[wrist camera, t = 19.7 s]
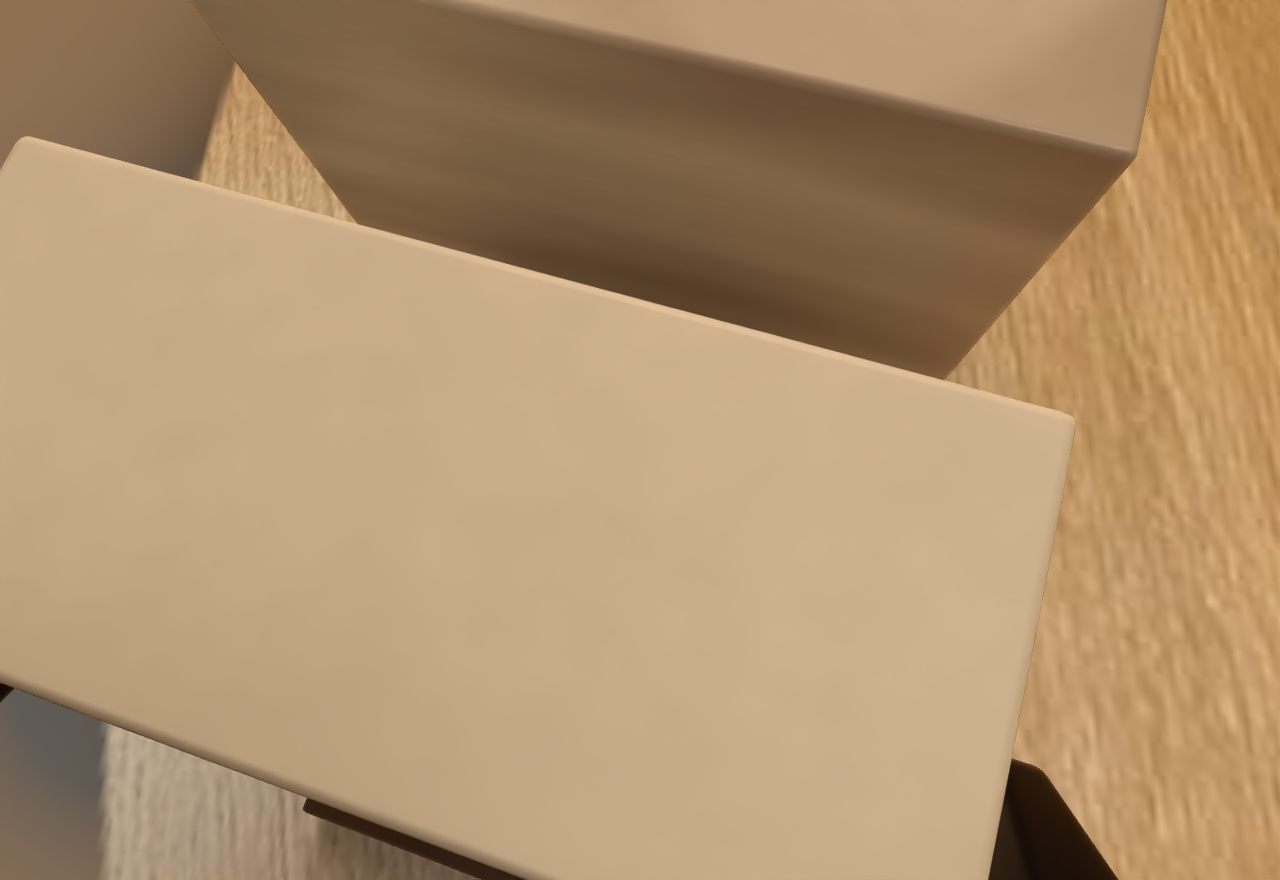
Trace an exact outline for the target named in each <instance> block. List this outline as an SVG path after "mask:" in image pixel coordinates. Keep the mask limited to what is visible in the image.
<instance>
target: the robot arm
mask: <svg viewBox="0 0 1280 880" xmlns="http://www.w3.org/2000/svg"><path fill="white" fill-rule="evenodd" d="M14 689H15V688H13V687H10V686H8V685H5V684H2V683H0V702H2V701H3V699H5V697H6V696H8V694H10V693H11V692H12V691H13V690H14ZM988 880H1118V878H1117V877H1116V875H1115V874H1114V873H1113V871H1112V870H1111V868H1110V867H1109V865H1108V864H1107V862H1106V861H1105V860H1104V858H1103V857H1102V855H1101V854H1100V852H1099V851H1098V849H1097V848H1096V847H1095V845H1094V844H1093V842H1092V841H1091V839H1090V838H1089V836H1088V835H1087V833H1086V832H1085V831H1084V829H1083V828H1082V826H1081V825H1080V823H1079V822H1078V820H1077V819H1076V818H1075V816H1074V815H1073V813H1072V812H1071V810H1070V809H1069V807H1068V806H1067V805H1066V803H1065V802H1064V800H1063V799H1062V797H1061V796H1060V794H1059V793H1058V791H1057V790H1056V789H1055V787H1054V786H1053V784H1052V783H1051V781H1050V780H1049V778H1048V777H1047V776H1046V775H1045V773H1044V772H1043V771H1042V770H1040V769H1039V768H1037V767H1036V766H1033V765H1030V764H1027V763H1024V762H1021V761H1018V760H1015V759H1011V764H1010V770H1009V775H1008V780H1007V785H1006V790H1005V795H1004V800H1003V806H1002V811H1001V816H1000V821H999V826H998V831H997V836H996V842H995V847H994V852H993V857H992V862H991V867H990V873H989V878H988Z"/></svg>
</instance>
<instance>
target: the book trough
mask: <svg viewBox="0 0 1280 880" xmlns="http://www.w3.org/2000/svg"><path fill="white" fill-rule="evenodd" d="M190 1H191V2H192V4H193V5H194V6H195V8H196V9H197V10H198V12H199V13H200V14H201V16H202V17H203V18H204V20H205V21H206V22H207V24H208V25H209V26H210V28H211V29H212V30H213V32H214V33H215V34H216V36H217V37H218V38H219V40H220V41H221V42H222V43H223V45H224V46H225V48H226V49H227V50H228V52H229V53H230V54H231V56H232V57H233V58H234V60H235V61H236V62H237V64H238V65H239V66H240V68H241V69H242V70H243V72H244V73H245V74H246V76H247V77H248V78H249V80H250V81H251V82H252V84H253V85H254V86H255V88H256V89H257V90H258V92H259V93H260V94H261V96H262V97H263V98H264V100H265V101H266V103H267V104H268V105H269V107H270V108H271V109H272V111H273V112H274V113H275V115H276V116H277V117H278V119H279V120H280V121H281V123H282V124H283V125H284V127H285V128H286V129H287V131H288V132H289V133H290V135H291V136H292V137H293V139H294V140H295V141H296V143H297V144H298V145H299V147H300V148H301V149H302V151H303V152H304V153H305V155H306V156H307V157H308V159H309V160H310V161H311V163H312V164H313V165H314V167H315V168H316V169H317V171H318V172H319V173H320V175H321V176H322V177H323V179H324V180H325V181H326V183H327V184H328V185H329V187H330V188H331V189H332V191H333V192H334V193H335V195H336V196H337V197H338V199H339V200H340V201H341V203H342V204H343V205H344V207H345V208H346V209H347V211H348V212H349V213H350V215H351V216H352V217H353V219H354V220H355V221H356V223H357V224H359V225H363V226H367V227H371V228H374V229H378V230H382V231H386V232H389V233H393V234H397V235H401V236H404V237H408V238H412V239H416V240H419V241H423V242H427V243H431V244H434V245H438V246H442V247H446V248H449V249H453V250H457V251H461V252H464V253H468V254H472V255H476V256H479V257H483V258H487V259H491V260H494V261H498V262H502V263H506V264H509V265H513V266H517V267H521V268H524V269H528V270H532V271H536V272H539V273H543V274H547V275H551V276H554V277H558V278H562V279H566V280H569V281H573V282H577V283H581V284H584V285H588V286H592V287H596V288H599V289H603V290H607V291H611V292H614V293H618V294H622V295H626V296H629V297H633V298H637V299H641V300H644V301H648V302H652V303H656V304H659V305H663V306H667V307H671V308H674V309H678V310H682V311H686V312H689V313H693V314H697V315H701V316H704V317H708V318H712V319H716V320H719V321H723V322H727V323H731V324H734V325H738V326H742V327H746V328H749V329H753V330H757V331H761V332H764V333H768V334H772V335H776V336H779V337H783V338H787V339H790V340H794V341H798V342H802V343H805V344H809V345H813V346H817V347H820V348H824V349H828V350H832V351H835V352H839V353H843V354H847V355H850V356H854V357H858V358H862V359H865V360H869V361H873V362H877V363H880V364H884V365H888V366H892V367H895V368H899V369H903V370H907V371H910V372H914V373H918V374H922V375H925V376H929V377H933V378H937V379H940V380H945V379H946V377H947V376H948V375H949V374H950V373H951V372H952V370H953V369H954V368H955V367H956V366H957V365H958V364H959V362H960V361H961V360H962V359H963V358H964V357H965V355H966V354H967V353H968V352H969V351H970V350H971V348H972V347H973V346H974V345H975V344H976V343H977V341H978V340H979V339H980V338H981V337H982V336H983V334H984V333H985V332H986V331H987V330H988V329H989V328H990V326H991V325H992V324H993V323H994V322H995V321H996V319H997V318H998V317H999V316H1000V315H1001V314H1002V312H1003V311H1004V310H1005V309H1006V308H1007V307H1008V305H1009V304H1010V303H1011V302H1012V301H1013V300H1014V298H1015V297H1016V296H1017V295H1018V294H1019V293H1020V292H1021V290H1022V289H1023V288H1024V287H1025V286H1026V285H1027V283H1028V282H1029V281H1030V280H1031V279H1032V278H1033V276H1034V275H1035V274H1036V273H1037V272H1038V271H1039V269H1040V268H1041V267H1042V266H1043V265H1044V264H1045V262H1046V261H1047V260H1048V259H1049V258H1050V257H1051V255H1052V254H1053V253H1054V252H1055V251H1056V250H1057V249H1058V247H1059V246H1060V245H1061V244H1062V243H1063V242H1064V240H1065V239H1066V238H1067V237H1068V236H1069V235H1070V233H1071V232H1072V231H1073V230H1074V229H1075V228H1076V226H1077V225H1078V224H1079V223H1080V222H1081V221H1082V219H1083V218H1084V217H1085V216H1086V215H1087V214H1088V213H1089V211H1090V210H1091V209H1092V208H1093V207H1094V206H1095V204H1096V203H1097V202H1098V201H1099V200H1100V199H1101V197H1102V196H1103V195H1104V194H1105V193H1106V192H1107V190H1108V189H1109V188H1110V187H1111V186H1112V185H1113V183H1114V182H1115V181H1116V180H1117V179H1118V178H1119V177H1120V175H1121V174H1122V173H1123V172H1124V171H1125V170H1126V168H1127V167H1128V166H1129V165H1130V164H1131V163H1132V161H1133V160H1134V159H1135V158H1136V156H1137V152H1138V147H1139V142H1140V136H1141V131H1142V126H1143V121H1144V116H1145V111H1146V106H1147V100H1148V95H1149V90H1150V85H1151V80H1152V75H1153V70H1154V64H1155V59H1156V54H1157V49H1158V44H1159V39H1160V34H1161V29H1162V23H1163V18H1164V13H1165V8H1166V3H1167V0H190ZM303 810H304V811H305V812H306V813H308V814H311V815H314V816H316V817H319V818H321V819H324V820H327V821H329V822H332V823H335V824H337V825H340V826H342V827H345V828H348V829H350V830H353V831H356V832H358V833H361V834H363V835H366V836H369V837H371V838H374V839H377V840H379V841H382V842H384V843H387V844H390V845H392V846H395V847H398V848H400V849H403V850H405V851H408V852H411V853H413V854H416V855H419V856H421V857H424V858H426V859H429V860H432V861H434V862H437V863H440V864H442V865H445V866H447V867H450V868H453V869H455V870H458V871H461V872H463V873H466V874H468V875H471V876H474V877H476V878H479V879H482V880H525V879H523V878H520V877H517V876H515V875H512V874H509V873H507V872H504V871H501V870H499V869H496V868H493V867H491V866H488V865H485V864H483V863H480V862H477V861H475V860H472V859H469V858H467V857H464V856H461V855H459V854H456V853H453V852H451V851H448V850H445V849H443V848H440V847H437V846H435V845H432V844H429V843H427V842H424V841H421V840H419V839H416V838H413V837H411V836H408V835H405V834H403V833H400V832H397V831H395V830H392V829H389V828H387V827H384V826H381V825H379V824H376V823H373V822H371V821H368V820H365V819H363V818H360V817H357V816H354V815H352V814H349V813H346V812H344V811H341V810H338V809H336V808H333V807H330V806H328V805H325V804H322V803H320V802H317V801H314V800H312V799H309V798H307V799H306V802H305V804H304V807H303Z"/></svg>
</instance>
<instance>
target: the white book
mask: <svg viewBox="0 0 1280 880" xmlns="http://www.w3.org/2000/svg"><path fill="white" fill-rule="evenodd" d="M1074 435H1075V421H1074V418H1073V417H1071V416H1070V415H1068V414H1067V413H1064V412H1060V411H1057V410H1053V409H1049V408H1045V407H1042V406H1038V405H1034V404H1030V403H1027V402H1023V401H1019V400H1015V399H1012V398H1008V397H1004V396H1000V395H997V394H993V393H989V392H985V391H982V390H978V389H974V388H970V387H967V386H963V385H959V384H955V383H952V382H948V381H944V380H940V379H937V378H933V377H929V376H925V375H922V374H918V373H914V372H910V371H907V370H903V369H899V368H895V367H892V366H888V365H884V364H880V363H877V362H873V361H869V360H865V359H862V358H858V357H854V356H850V355H847V354H843V353H839V352H835V351H832V350H828V349H824V348H820V347H817V346H813V345H809V344H805V343H802V342H798V341H794V340H790V339H787V338H783V337H779V336H776V335H772V334H768V333H764V332H761V331H757V330H753V329H749V328H746V327H742V326H738V325H734V324H731V323H727V322H723V321H719V320H716V319H712V318H708V317H704V316H701V315H697V314H693V313H689V312H686V311H682V310H678V309H674V308H671V307H667V306H663V305H659V304H656V303H652V302H648V301H644V300H641V299H637V298H633V297H629V296H626V295H622V294H618V293H614V292H611V291H607V290H603V289H599V288H596V287H592V286H588V285H584V284H581V283H577V282H573V281H569V280H566V279H562V278H558V277H554V276H551V275H547V274H543V273H539V272H536V271H532V270H528V269H524V268H521V267H517V266H513V265H509V264H506V263H502V262H498V261H494V260H491V259H487V258H483V257H479V256H476V255H472V254H468V253H464V252H461V251H457V250H453V249H449V248H446V247H442V246H438V245H434V244H431V243H427V242H423V241H419V240H416V239H412V238H408V237H404V236H401V235H397V234H393V233H389V232H386V231H382V230H378V229H374V228H371V227H367V226H363V225H359V224H356V223H352V222H348V221H344V220H341V219H337V218H333V217H329V216H326V215H322V214H318V213H314V212H311V211H307V210H303V209H299V208H296V207H292V206H288V205H284V204H281V203H277V202H273V201H269V200H266V199H262V198H258V197H254V196H251V195H247V194H243V193H239V192H236V191H232V190H228V189H224V188H221V187H217V186H213V185H209V184H206V183H202V182H198V181H194V180H191V179H187V178H183V177H179V176H175V175H172V174H168V173H164V172H161V171H157V170H153V169H149V168H146V167H142V166H138V165H134V164H130V163H127V162H123V161H119V160H115V159H112V158H108V157H104V156H100V155H97V154H93V153H89V152H85V151H82V150H78V149H74V148H71V147H67V146H63V145H59V144H56V143H51V142H48V141H44V140H41V139H37V138H33V137H23V138H21V139H20V140H19V141H17V142H16V143H15V145H14V147H13V149H12V151H11V152H10V154H9V156H8V157H7V159H6V161H5V163H4V165H3V166H2V168H1V170H0V683H2V684H5V685H8V686H10V687H13V688H16V689H18V690H21V691H24V692H26V693H29V694H32V695H34V696H37V697H40V698H42V699H45V700H48V701H51V702H53V703H56V704H58V705H61V706H64V707H66V708H69V709H72V710H74V711H77V712H80V713H83V714H85V715H88V716H90V717H93V718H96V719H99V720H101V721H104V722H106V723H109V724H112V725H114V726H117V727H120V728H122V729H125V730H128V731H130V732H133V733H136V734H138V735H141V736H144V737H146V738H149V739H152V740H154V741H157V742H160V743H162V744H165V745H168V746H170V747H173V748H176V749H178V750H181V751H184V752H186V753H189V754H192V755H194V756H197V757H200V758H202V759H205V760H208V761H210V762H213V763H216V764H218V765H221V766H224V767H226V768H229V769H232V770H234V771H237V772H240V773H242V774H245V775H248V776H250V777H253V778H256V779H258V780H261V781H264V782H266V783H269V784H272V785H274V786H277V787H280V788H282V789H285V790H288V791H290V792H293V793H296V794H298V795H301V796H304V797H306V798H309V799H312V800H314V801H317V802H320V803H322V804H325V805H328V806H330V807H333V808H336V809H338V810H341V811H344V812H346V813H349V814H352V815H354V816H357V817H360V818H363V819H365V820H368V821H371V822H373V823H376V824H379V825H381V826H384V827H387V828H389V829H392V830H395V831H397V832H400V833H403V834H405V835H408V836H411V837H413V838H416V839H419V840H421V841H424V842H427V843H429V844H432V845H435V846H437V847H440V848H443V849H445V850H448V851H451V852H453V853H456V854H459V855H461V856H464V857H467V858H469V859H472V860H475V861H477V862H480V863H483V864H485V865H488V866H491V867H493V868H496V869H499V870H501V871H504V872H507V873H509V874H512V875H515V876H517V877H520V878H523V879H525V880H988V878H989V873H990V867H991V862H992V857H993V852H994V847H995V842H996V836H997V831H998V826H999V821H1000V816H1001V811H1002V806H1003V800H1004V795H1005V790H1006V785H1007V780H1008V775H1009V770H1010V764H1011V759H1012V754H1013V749H1014V744H1015V739H1016V733H1017V728H1018V723H1019V718H1020V713H1021V708H1022V703H1023V697H1024V692H1025V687H1026V682H1027V677H1028V672H1029V667H1030V661H1031V656H1032V651H1033V646H1034V641H1035V636H1036V630H1037V625H1038V620H1039V615H1040V610H1041V605H1042V600H1043V594H1044V589H1045V584H1046V579H1047V574H1048V569H1049V564H1050V558H1051V553H1052V548H1053V543H1054V538H1055V533H1056V527H1057V522H1058V517H1059V512H1060V507H1061V502H1062V497H1063V491H1064V486H1065V481H1066V476H1067V471H1068V466H1069V461H1070V455H1071V450H1072V445H1073V440H1074Z"/></svg>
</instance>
